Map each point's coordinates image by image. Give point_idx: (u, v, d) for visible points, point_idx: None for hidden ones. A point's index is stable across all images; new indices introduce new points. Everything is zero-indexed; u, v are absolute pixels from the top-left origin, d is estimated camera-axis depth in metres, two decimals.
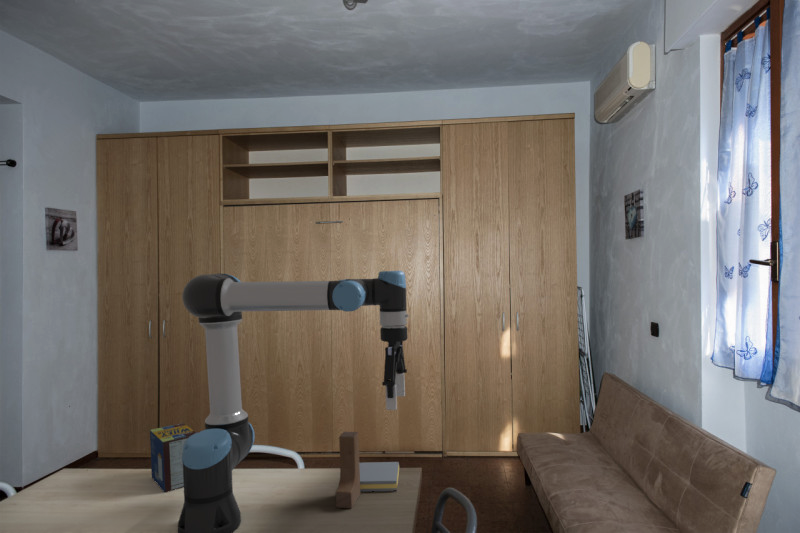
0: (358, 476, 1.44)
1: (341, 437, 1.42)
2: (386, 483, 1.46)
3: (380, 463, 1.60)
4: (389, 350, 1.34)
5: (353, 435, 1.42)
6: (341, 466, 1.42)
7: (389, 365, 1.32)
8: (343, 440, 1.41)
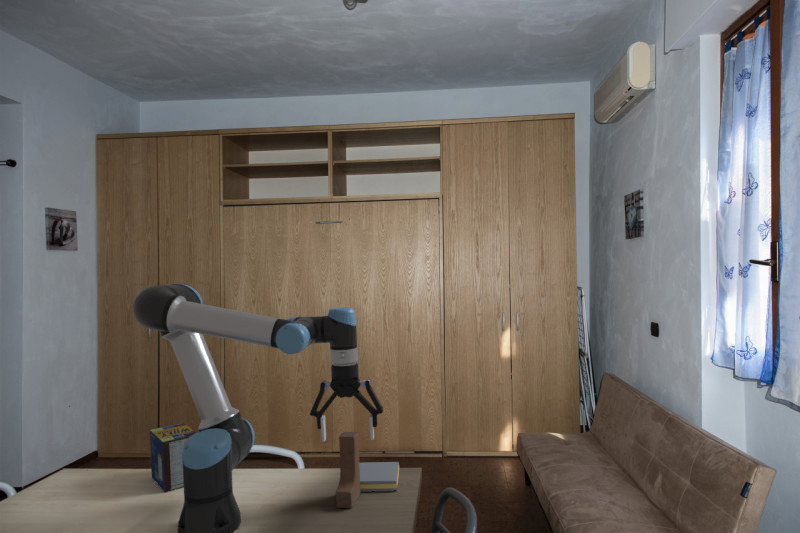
0: (358, 476, 1.44)
1: (341, 437, 1.42)
2: (386, 483, 1.46)
3: (380, 463, 1.60)
4: None
5: (353, 435, 1.42)
6: (340, 466, 1.42)
7: None
8: (343, 440, 1.41)
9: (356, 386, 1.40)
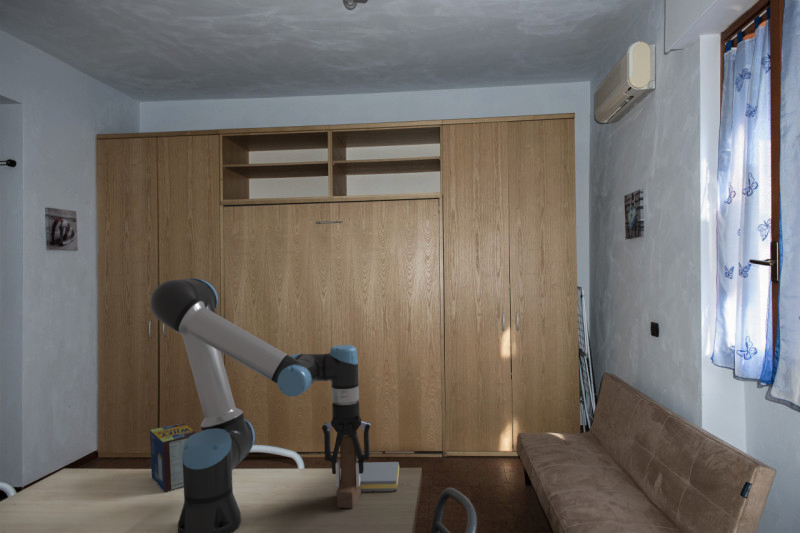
0: None
1: (342, 437, 1.42)
2: (386, 483, 1.46)
3: (380, 463, 1.60)
4: None
5: None
6: (341, 466, 1.42)
7: None
8: (343, 440, 1.41)
9: (356, 425, 1.40)
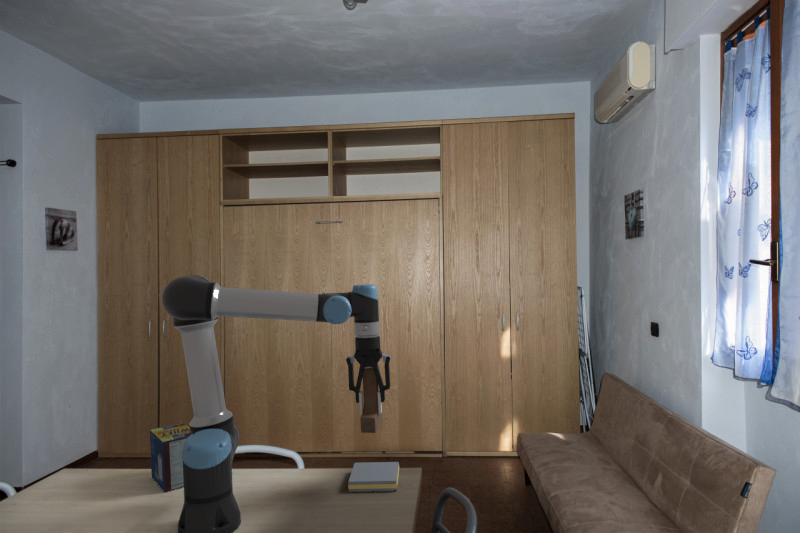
0: None
1: (364, 369, 1.53)
2: (386, 483, 1.46)
3: (380, 463, 1.60)
4: None
5: None
6: (364, 396, 1.53)
7: None
8: (365, 372, 1.52)
9: (377, 357, 1.51)
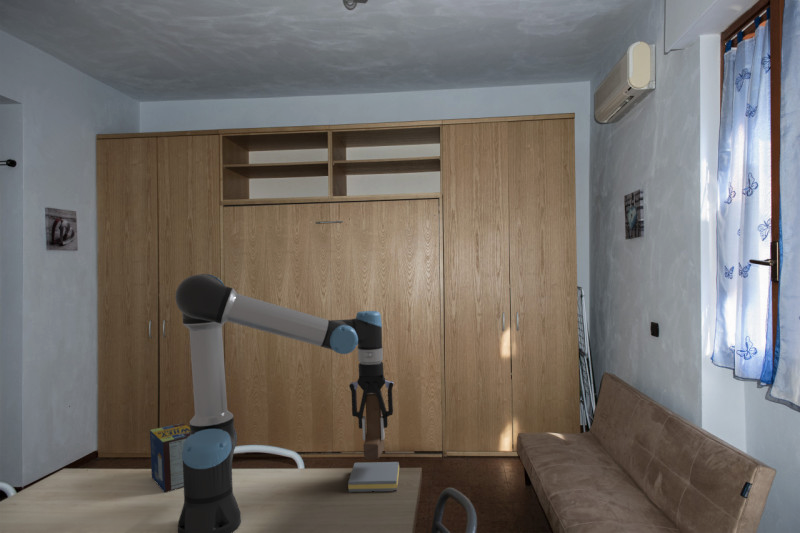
0: None
1: (367, 395, 1.54)
2: (386, 483, 1.46)
3: (380, 463, 1.60)
4: None
5: None
6: (367, 421, 1.54)
7: None
8: (368, 397, 1.54)
9: (380, 383, 1.52)
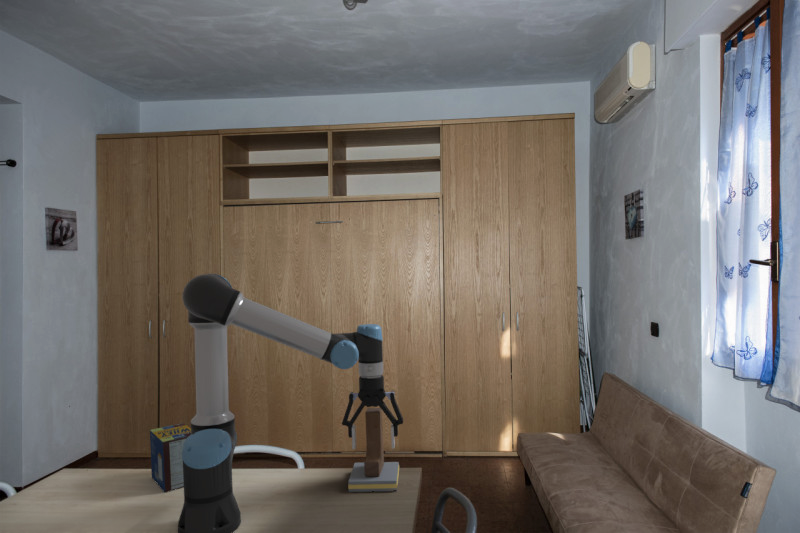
0: (382, 448, 1.56)
1: (367, 412, 1.54)
2: (386, 483, 1.46)
3: None
4: None
5: (378, 410, 1.55)
6: (367, 439, 1.54)
7: (347, 408, 1.54)
8: (369, 415, 1.54)
9: (381, 396, 1.52)
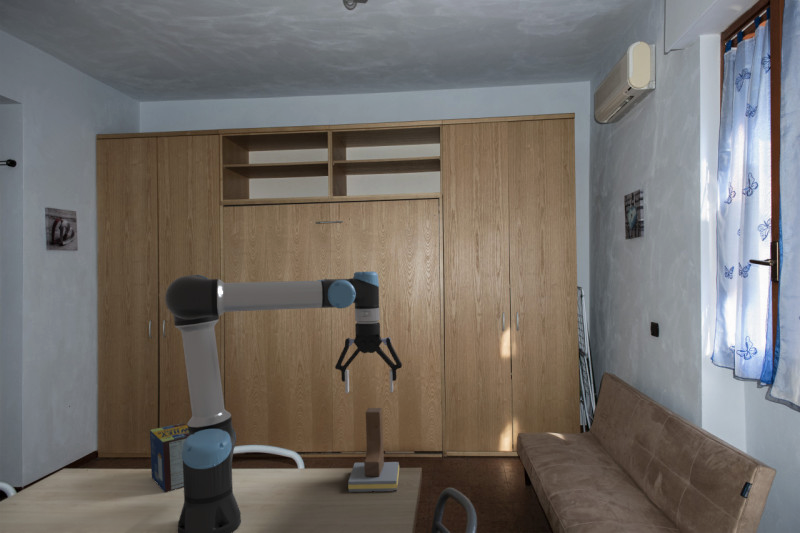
0: (382, 448, 1.56)
1: (367, 412, 1.54)
2: (386, 483, 1.46)
3: None
4: None
5: (378, 410, 1.55)
6: (367, 439, 1.54)
7: (341, 353, 1.54)
8: (369, 415, 1.54)
9: (378, 343, 1.53)
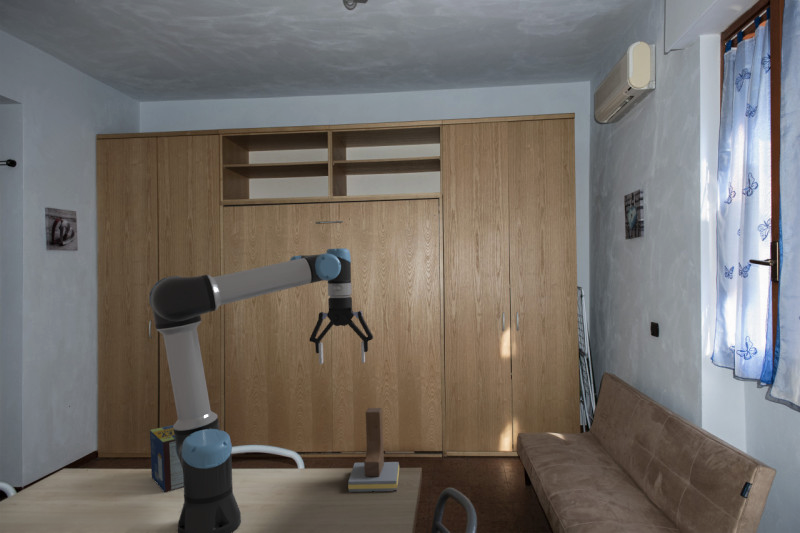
0: (382, 448, 1.56)
1: (367, 412, 1.54)
2: (386, 483, 1.46)
3: None
4: None
5: (378, 410, 1.55)
6: (367, 439, 1.54)
7: (315, 326, 1.62)
8: (369, 415, 1.54)
9: (350, 316, 1.61)
